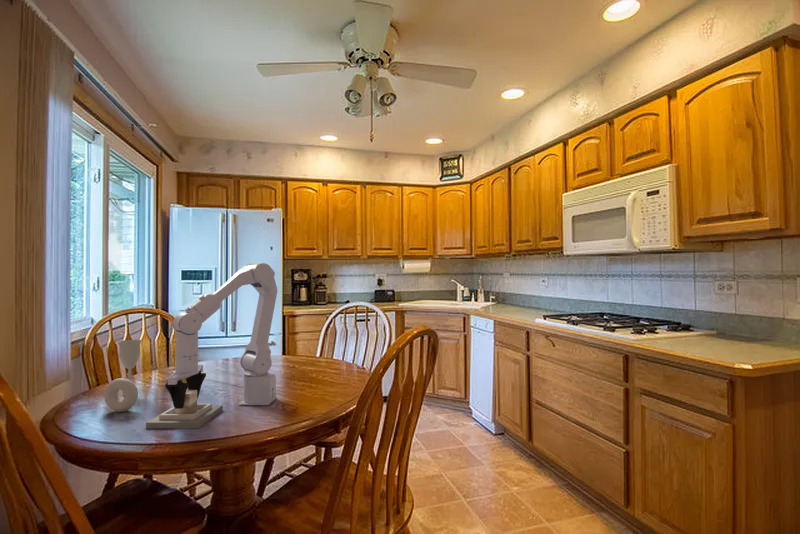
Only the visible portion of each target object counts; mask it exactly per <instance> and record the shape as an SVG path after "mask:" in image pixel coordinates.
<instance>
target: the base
mask: <svg viewBox="0 0 800 534" xmlns="http://www.w3.org/2000/svg"><path fill="white" fill-rule="evenodd" d="M222 411H223V405H222V404H221V405H220V404H218V405H217V404H213V403H197V411H196V412H195V413H193V414H175V408H174V406H172V407H171V408H169V409H167V410H165V411H163V412H162V413H160V414H159V415H157V416H155V417H153V418H151V419H150V420H148V421H146V422H145V429H199V428H200V427H202V426H204V424H206V423H208V422H209V421H210V420H211V419H213V418H214V417H216V416H217V415H218V414H220V413H221V412H222Z"/></svg>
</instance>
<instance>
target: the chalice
mask: <svg viewBox="0 0 800 534" xmlns="http://www.w3.org/2000/svg"><path fill="white" fill-rule="evenodd" d="M142 340H143V339H128V340H127V339H125V340H120V341H117V343H118V346H119V349H118V350H119V351H118V352H119V356H118V357H119V358H120V361H121V363H122V365H123V367H124V368H125V369H127V370H128V371H127V374H126V375H127V379H129V380H131V381H132V382H133V378H132V377H133V371H132V370H133V368H135V367H136V366H137V363H138V361H139V358H140V356H141V343H142ZM121 391H122V390H121ZM120 396H121V397H125V395H124V392H123V391H122V392H121V394H120Z"/></svg>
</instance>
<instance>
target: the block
mask: <svg viewBox="0 0 800 534" xmlns="http://www.w3.org/2000/svg"><path fill="white" fill-rule="evenodd" d="M197 404H198V399H197V390H188V389H187V390H186V394H185V402H184V407H183V408H182V409H175V414H193V413H195V412H196V411H197Z"/></svg>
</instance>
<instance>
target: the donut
mask: <svg viewBox="0 0 800 534" xmlns="http://www.w3.org/2000/svg"><path fill="white" fill-rule="evenodd" d="M119 391H123V392H124V395H125V396H123V397H124V398H123V399H121V398H120V396H119ZM103 396H104V397H103V398H104V403H106V406H107V407H108V408H109V409H110V410H112V411H114V412H118V413H123V412H126V411H127V412H128V411H129V410H131V409H132V408H133V407H134V406H135V405H136V403H137V401H138V398H139V391H138V388H137V386H136V384H135V383H134V382H133V380H132V381H131V380H129V379H128V378H125V377H120V378H115V379H113V380H111V381H110V382H109V383H108V384H107V386H106V387H105V389H104V394H103Z"/></svg>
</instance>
